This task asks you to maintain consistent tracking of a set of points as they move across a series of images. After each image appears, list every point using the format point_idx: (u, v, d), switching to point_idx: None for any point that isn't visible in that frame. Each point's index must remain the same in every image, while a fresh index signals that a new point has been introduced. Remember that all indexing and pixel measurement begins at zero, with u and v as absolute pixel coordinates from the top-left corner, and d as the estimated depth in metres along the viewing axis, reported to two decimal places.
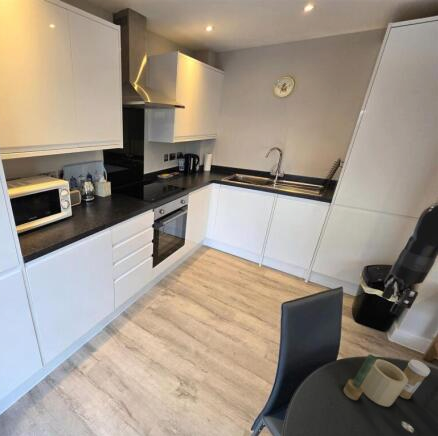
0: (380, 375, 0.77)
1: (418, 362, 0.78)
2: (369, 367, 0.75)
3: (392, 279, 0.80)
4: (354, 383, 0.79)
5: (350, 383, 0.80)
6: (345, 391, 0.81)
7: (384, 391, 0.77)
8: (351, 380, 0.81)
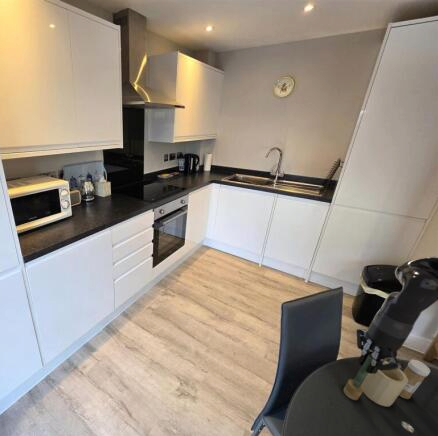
0: (380, 375, 0.77)
1: (418, 362, 0.78)
2: None
3: (369, 341, 0.74)
4: (354, 383, 0.79)
5: (350, 383, 0.80)
6: (345, 391, 0.81)
7: (384, 391, 0.77)
8: (351, 380, 0.81)
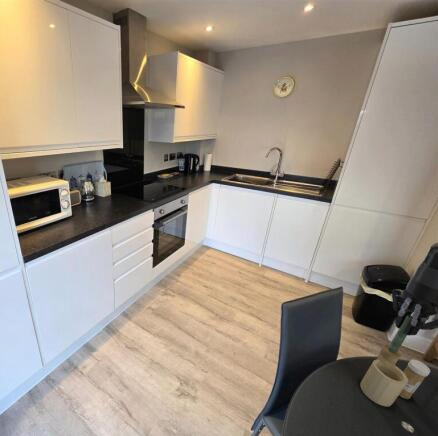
0: (380, 375, 0.77)
1: (418, 362, 0.78)
2: None
3: (408, 300, 0.68)
4: (390, 348, 0.73)
5: (385, 349, 0.74)
6: (380, 358, 0.75)
7: (384, 391, 0.77)
8: (386, 346, 0.75)
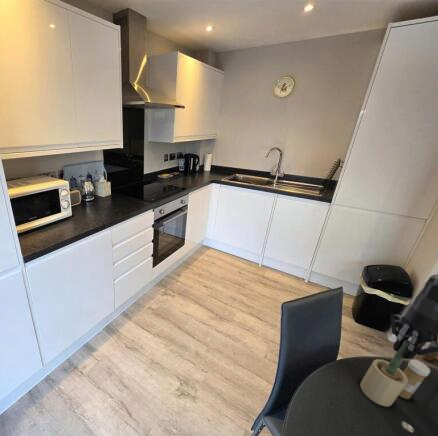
0: (380, 375, 0.77)
1: (418, 362, 0.78)
2: None
3: (406, 326, 0.72)
4: (387, 370, 0.77)
5: (383, 370, 0.78)
6: None
7: (384, 391, 0.77)
8: (384, 367, 0.79)
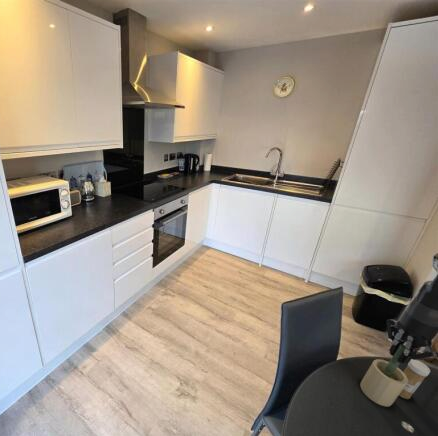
0: (380, 375, 0.77)
1: (418, 362, 0.78)
2: None
3: (401, 331, 0.73)
4: None
5: None
6: None
7: (384, 391, 0.77)
8: (381, 371, 0.80)
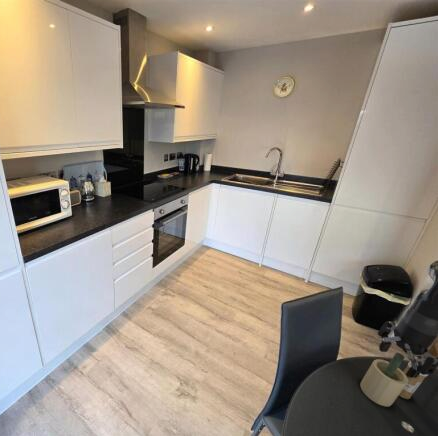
0: (380, 375, 0.77)
1: None
2: (396, 365, 0.75)
3: (398, 338, 0.74)
4: None
5: None
6: None
7: (384, 391, 0.77)
8: None
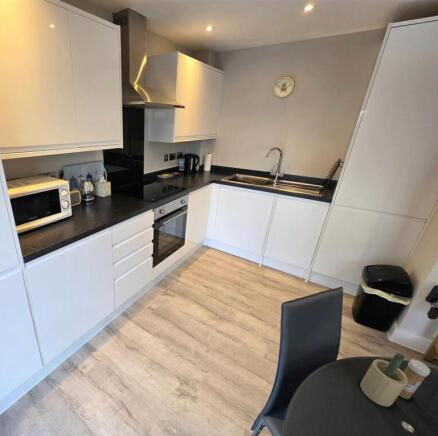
0: (380, 375, 0.77)
1: (418, 362, 0.78)
2: (396, 365, 0.75)
3: None
4: None
5: None
6: None
7: (384, 391, 0.77)
8: None
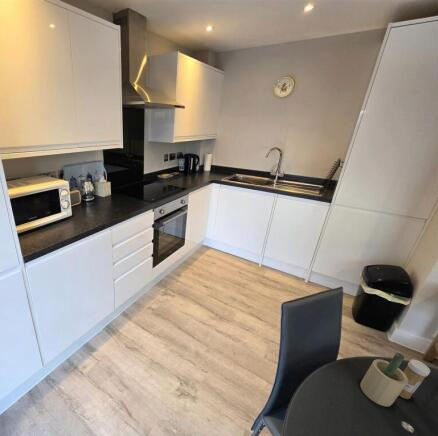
0: (380, 375, 0.77)
1: (418, 362, 0.78)
2: (396, 365, 0.75)
3: None
4: None
5: None
6: None
7: (384, 391, 0.77)
8: None
